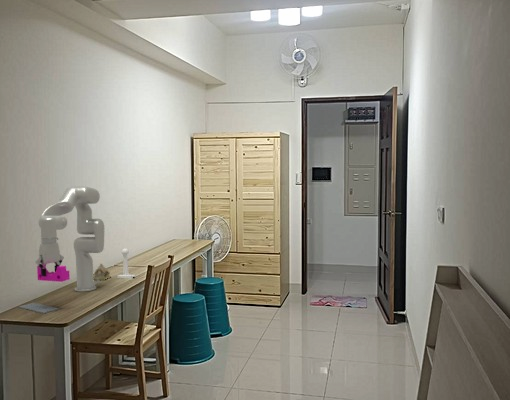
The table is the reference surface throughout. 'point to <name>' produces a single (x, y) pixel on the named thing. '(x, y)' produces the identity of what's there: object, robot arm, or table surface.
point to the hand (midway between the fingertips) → (50, 274)
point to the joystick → (125, 265)
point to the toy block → (54, 274)
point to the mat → (39, 308)
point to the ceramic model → (101, 273)
